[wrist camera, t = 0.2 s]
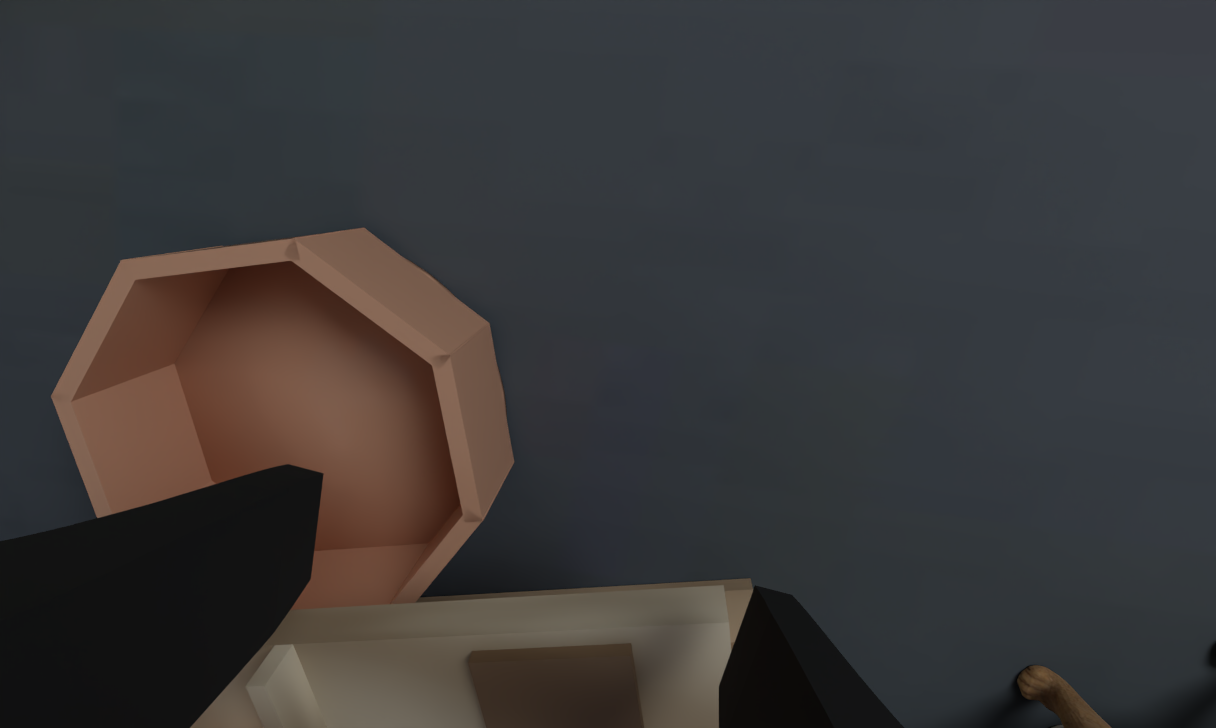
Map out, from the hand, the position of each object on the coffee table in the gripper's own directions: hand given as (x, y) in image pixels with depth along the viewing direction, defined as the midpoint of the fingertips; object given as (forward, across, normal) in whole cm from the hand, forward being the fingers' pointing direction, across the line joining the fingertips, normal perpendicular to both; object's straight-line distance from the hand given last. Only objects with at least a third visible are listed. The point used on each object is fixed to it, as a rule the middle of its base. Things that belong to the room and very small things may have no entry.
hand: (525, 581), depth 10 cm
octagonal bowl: (+10, +8, +3) cm, 13 cm away
